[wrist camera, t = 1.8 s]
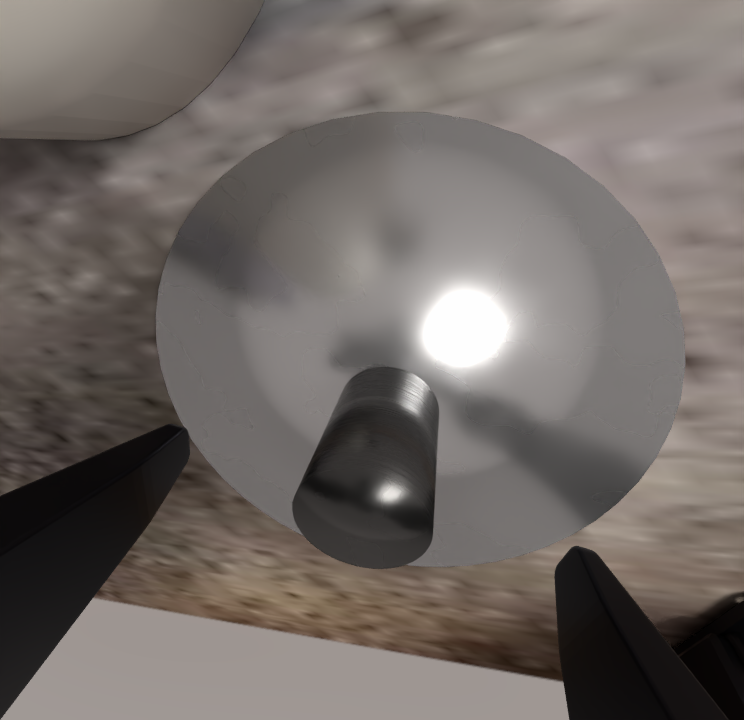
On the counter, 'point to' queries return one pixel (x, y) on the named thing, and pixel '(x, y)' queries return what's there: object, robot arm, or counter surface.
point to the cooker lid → (420, 340)
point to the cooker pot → (110, 62)
